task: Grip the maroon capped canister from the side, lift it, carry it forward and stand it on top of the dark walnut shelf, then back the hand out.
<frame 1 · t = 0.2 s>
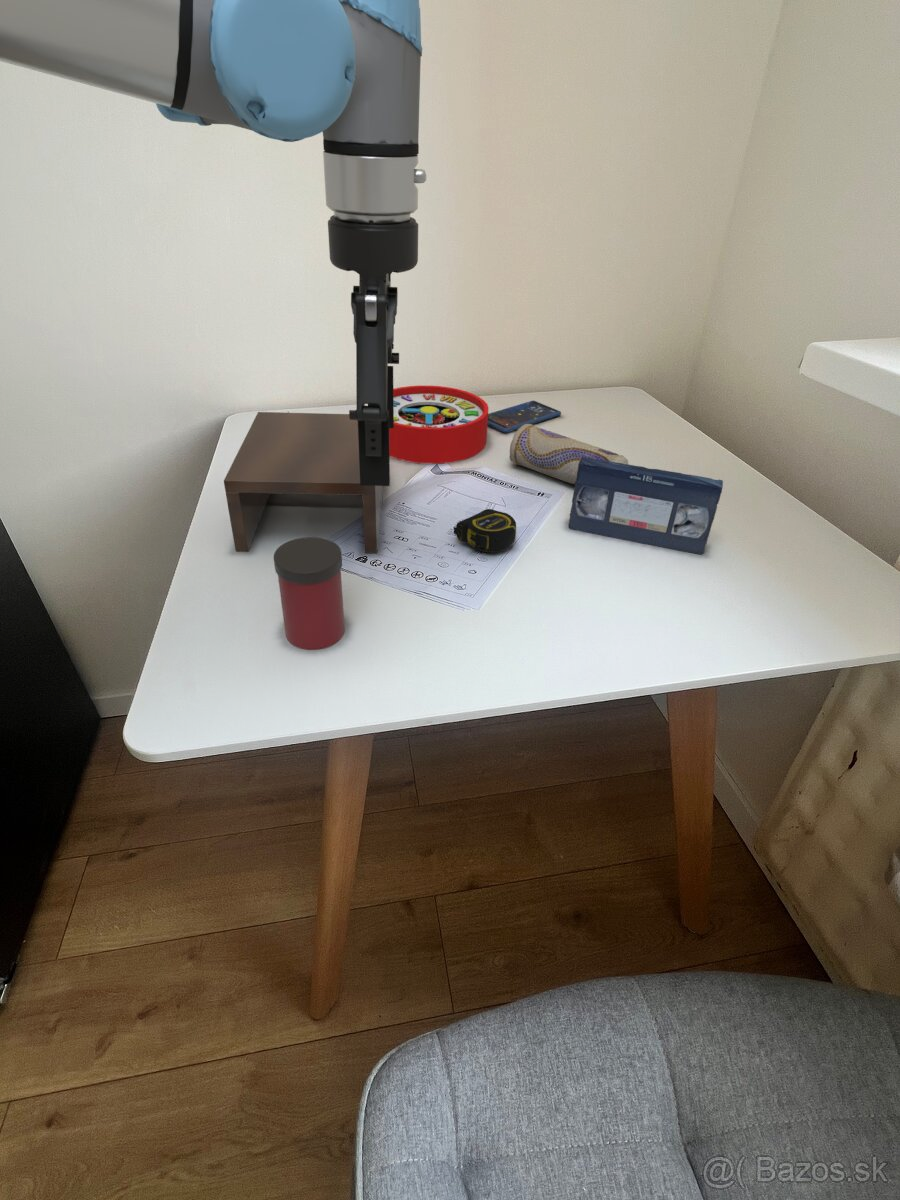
hand: (378, 453, 70), 19 cm above the table, tool pointing down, fingers open, 13 cm apart
decorative bottle: (578, 487, 108), on the table
game controller: (301, 430, 121), on the table
tape measure: (483, 544, 93), on the table
toy clock: (428, 439, 120), on the table
smartphone: (519, 419, 129), on the table
vhs cassette tape: (634, 538, 96), on the table
shelf: (316, 510, 98), on the table
canister: (315, 631, 77), on the table
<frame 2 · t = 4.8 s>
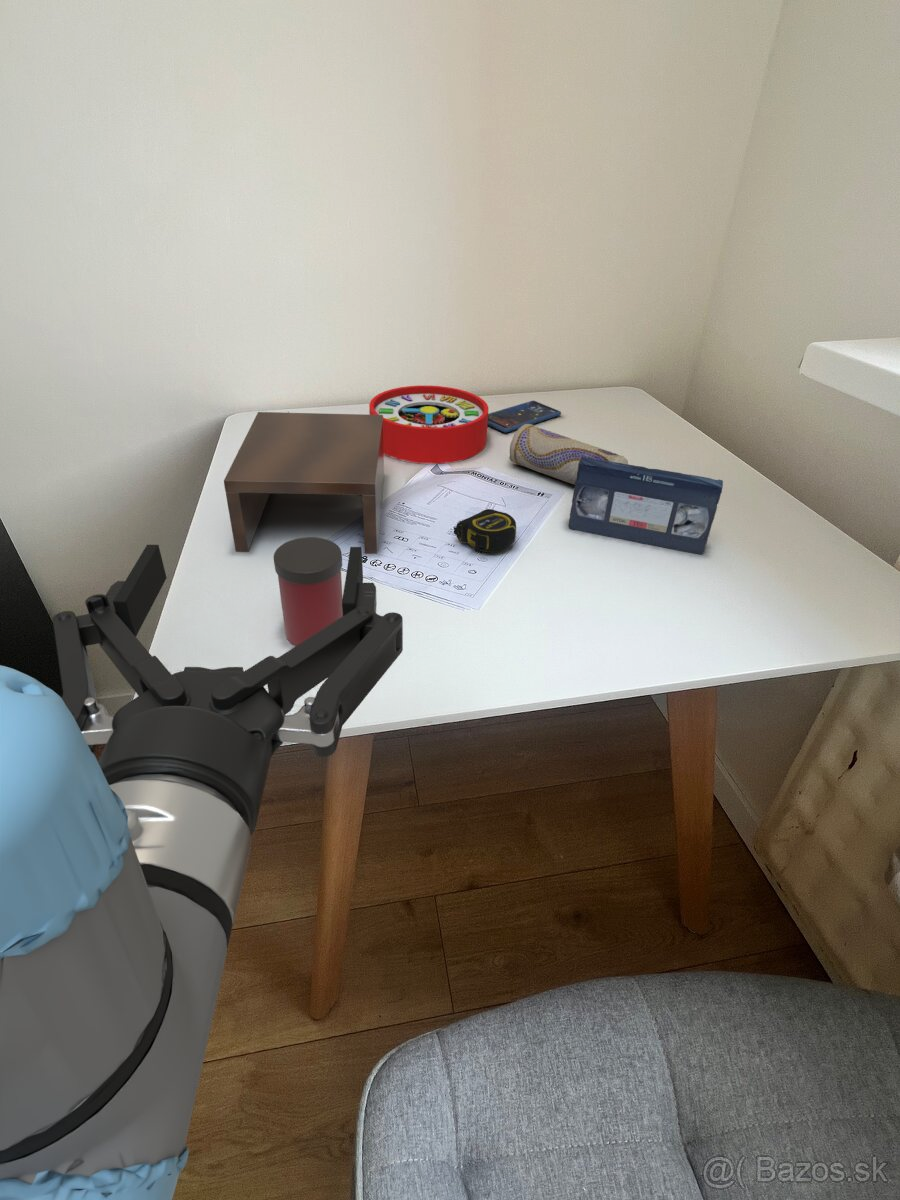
hand: (257, 562, 48), 22 cm above the table, tool horizontal, fingers open, 13 cm apart
nothing on the table moved.
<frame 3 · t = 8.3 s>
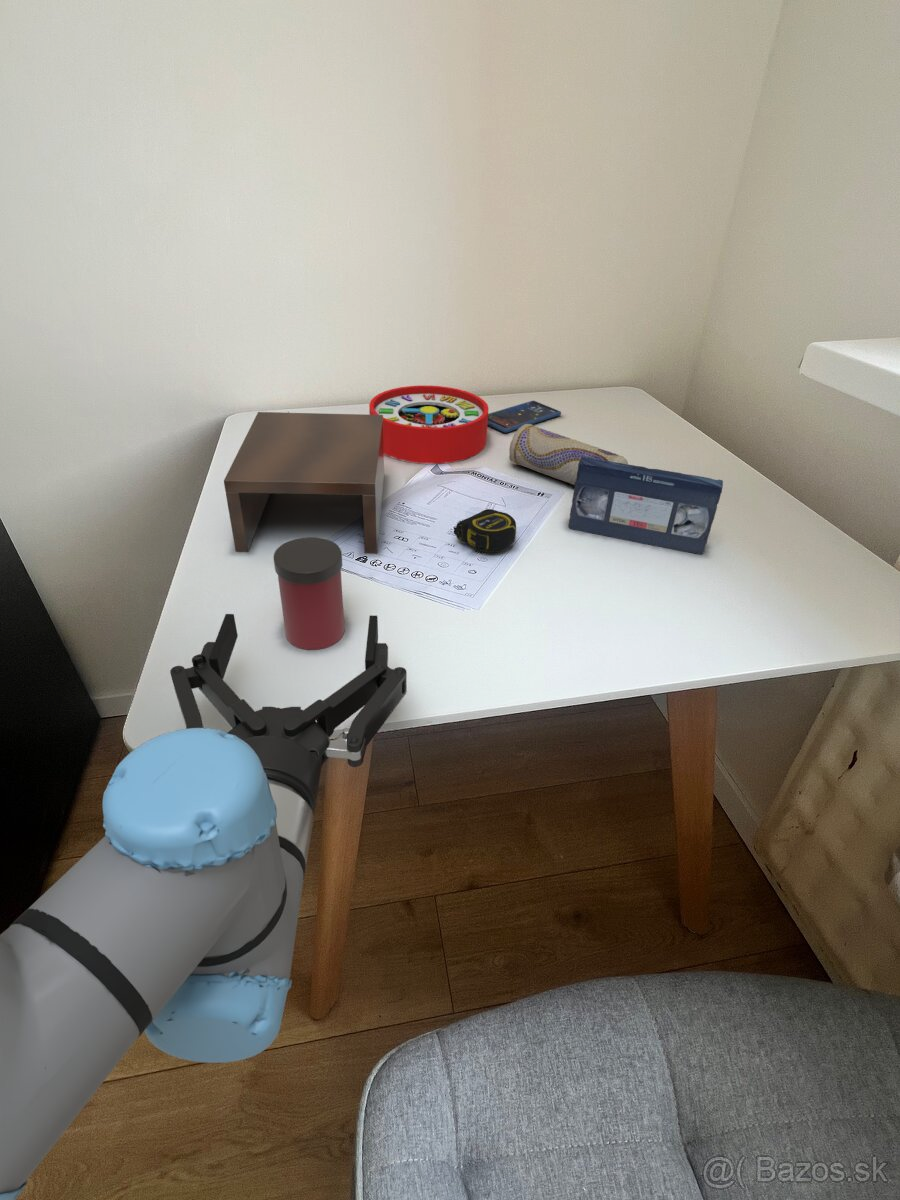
hand: (303, 625, 67), 6 cm above the table, tool horizontal, fingers open, 13 cm apart
nothing on the table moved.
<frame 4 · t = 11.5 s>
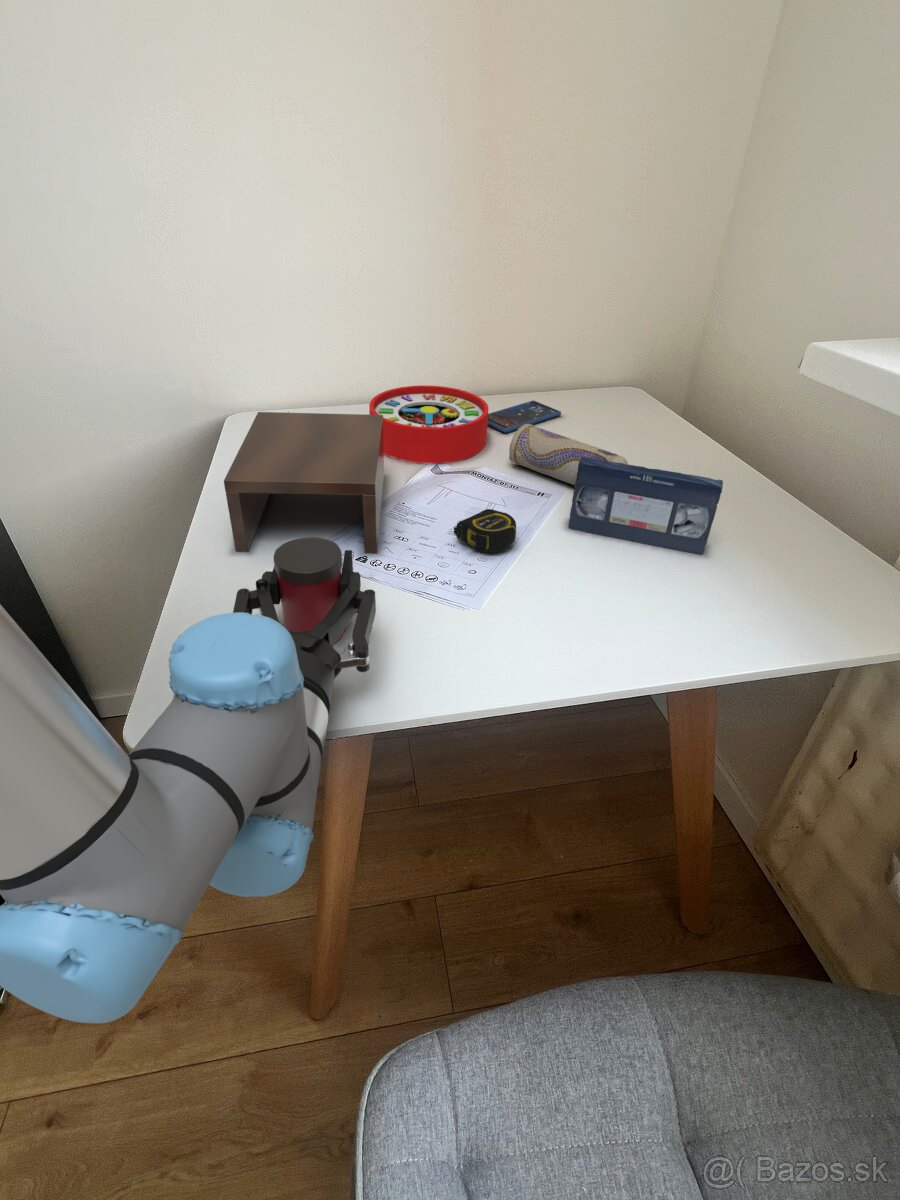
hand: (316, 560, 77), 6 cm above the table, tool horizontal, fingers closed on canister, 6 cm apart
canister: (315, 631, 77), on the table, touching gripper
everything else where it was.
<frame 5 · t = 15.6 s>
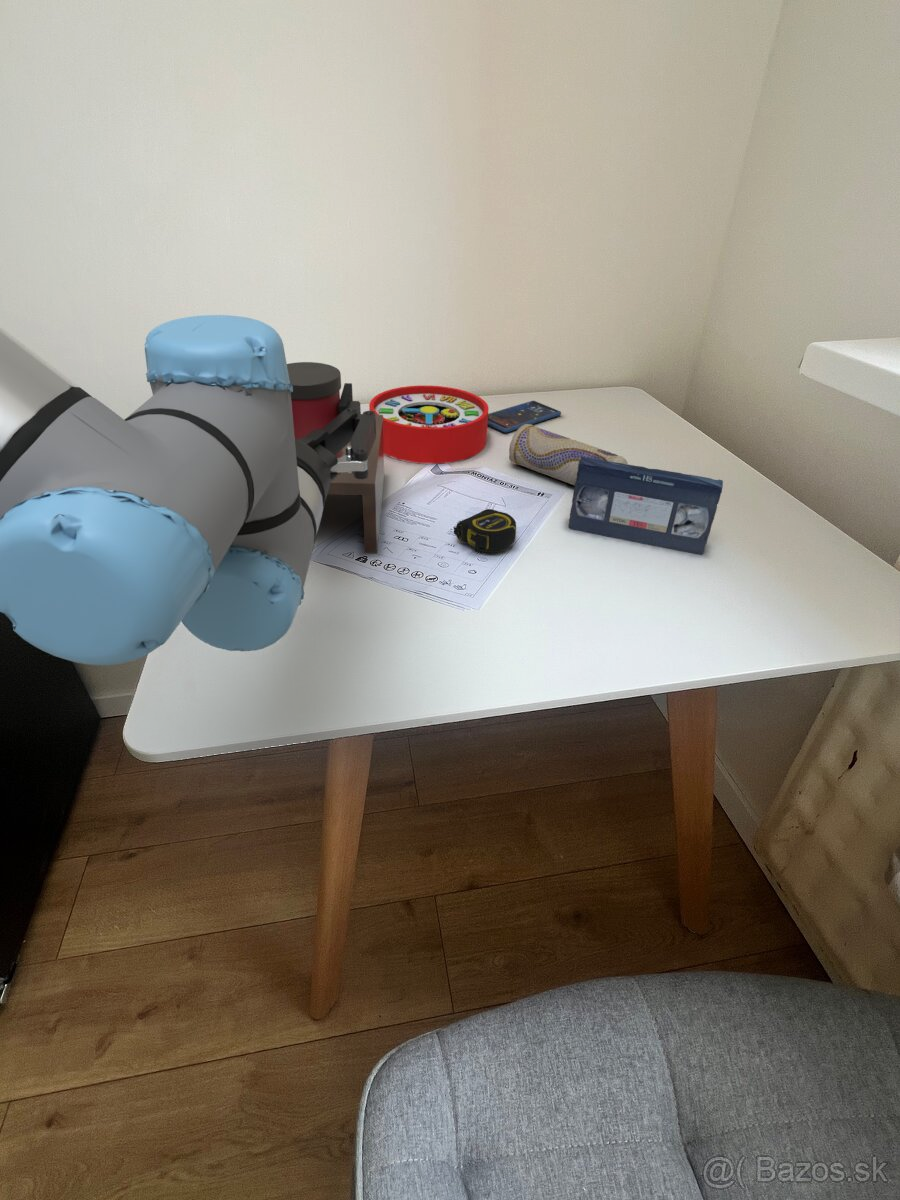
hand: (315, 395, 74), 22 cm above the table, tool horizontal, fingers closed on canister, 6 cm apart
canister: (312, 468, 73), point 16 cm above the table, touching gripper
everything else where it was.
when the fingers open (16 cm above the table, at t = 19.9 s): canister stays where it is, resting on shelf.
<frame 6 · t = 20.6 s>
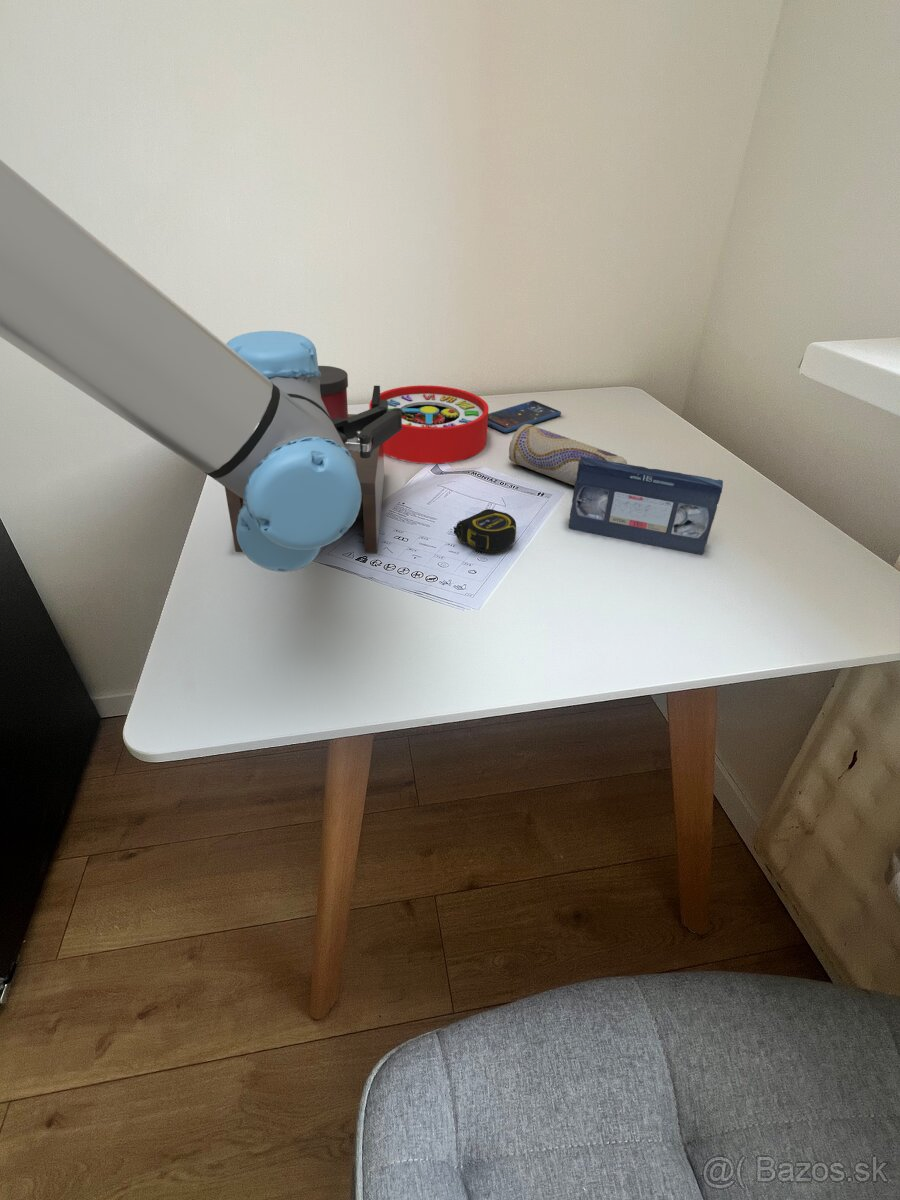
hand: (324, 394, 90), 16 cm above the table, tool horizontal, fingers open, 13 cm apart
canister: (324, 450, 91), point 10 cm above the table, touching shelf
everything else where it was.
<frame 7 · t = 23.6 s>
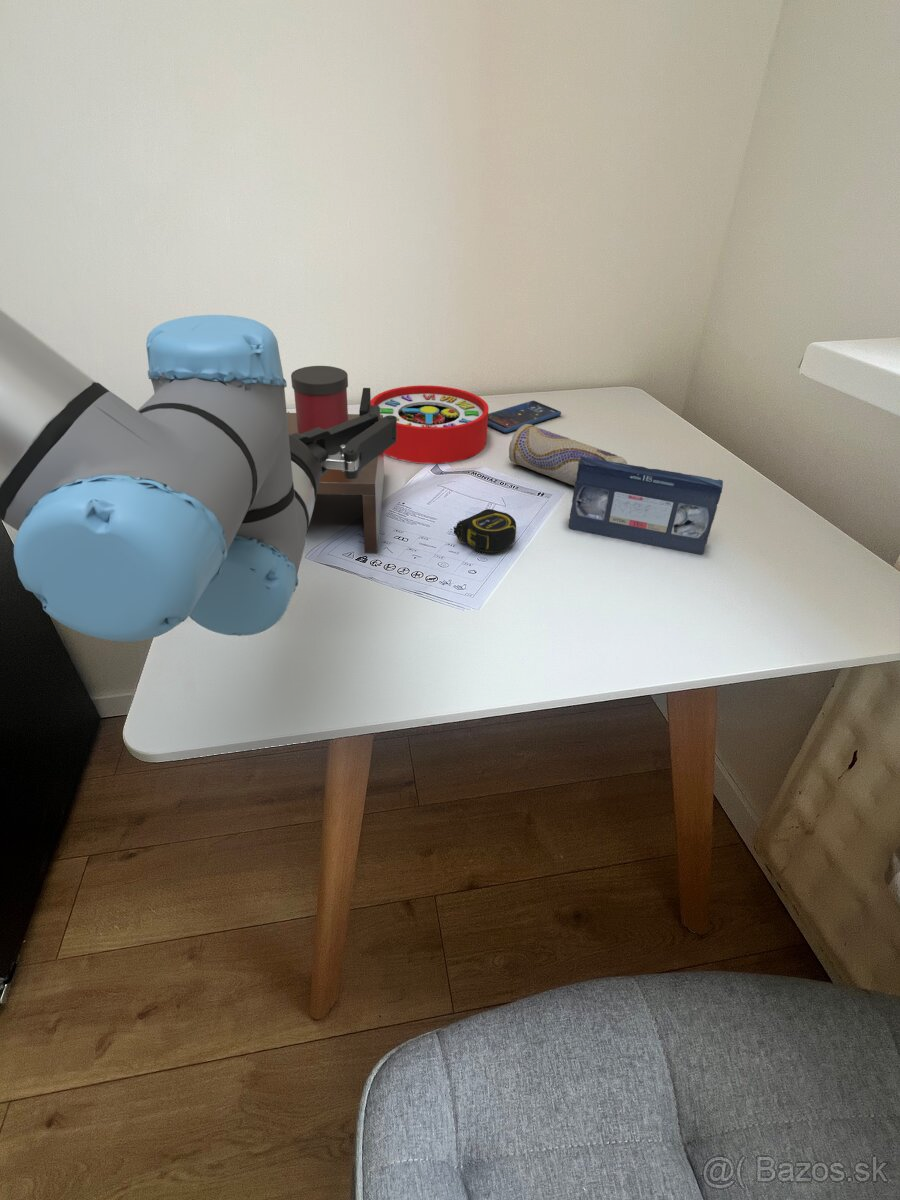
hand: (303, 398, 74), 21 cm above the table, tool horizontal, fingers open, 13 cm apart
nothing on the table moved.
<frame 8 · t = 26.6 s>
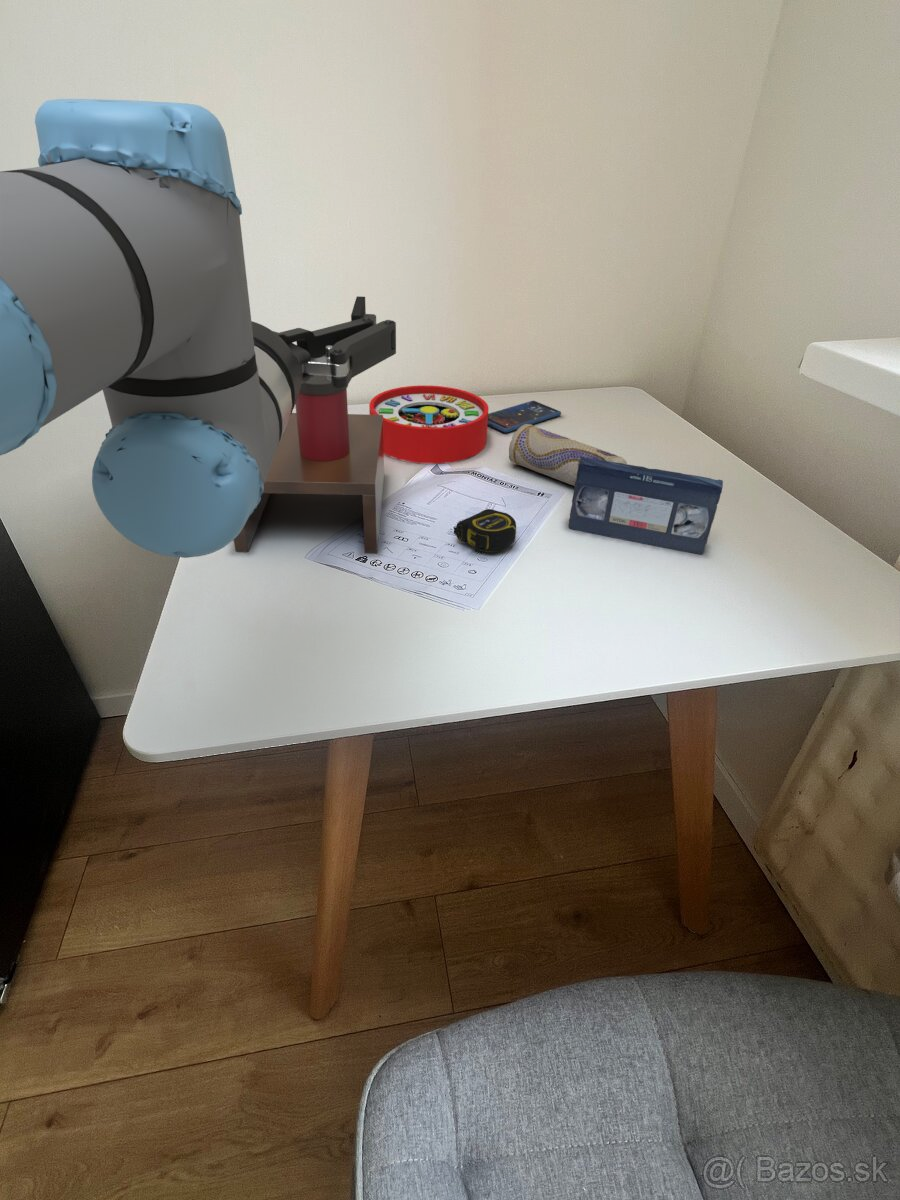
hand: (285, 309, 63), 32 cm above the table, tool horizontal, fingers open, 13 cm apart
nothing on the table moved.
at the end: canister inside the target area on the shelf (2.8 cm from its centre), point 10.0 cm above the shelf's base; canister tilted 0°; the gripper is holding nothing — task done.
